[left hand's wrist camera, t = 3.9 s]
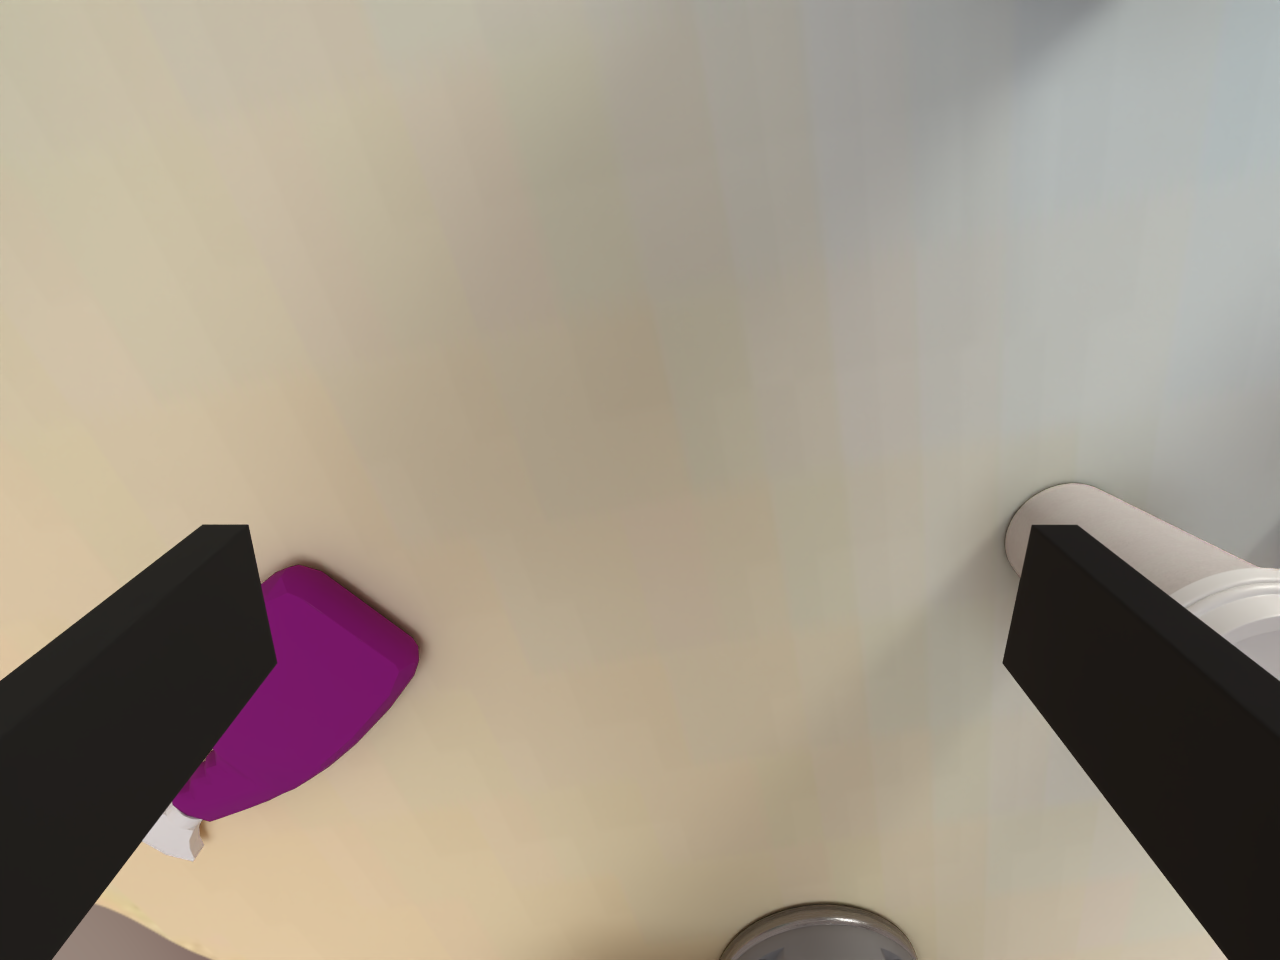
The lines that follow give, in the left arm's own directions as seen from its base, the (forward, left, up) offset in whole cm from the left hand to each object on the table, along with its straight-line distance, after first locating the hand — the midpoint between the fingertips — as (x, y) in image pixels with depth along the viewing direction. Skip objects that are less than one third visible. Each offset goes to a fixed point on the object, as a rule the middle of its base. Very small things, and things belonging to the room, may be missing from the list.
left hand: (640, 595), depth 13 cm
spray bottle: (-25, +25, -28) cm, 45 cm away
